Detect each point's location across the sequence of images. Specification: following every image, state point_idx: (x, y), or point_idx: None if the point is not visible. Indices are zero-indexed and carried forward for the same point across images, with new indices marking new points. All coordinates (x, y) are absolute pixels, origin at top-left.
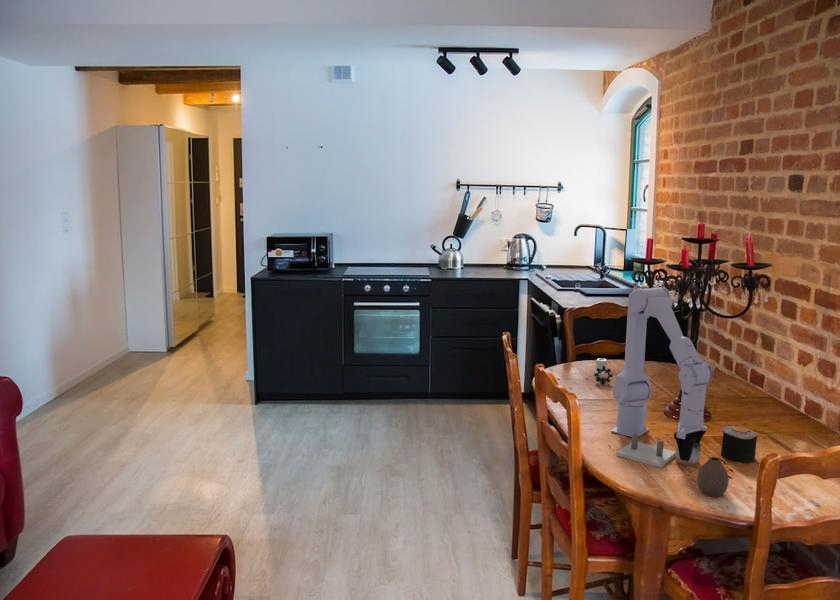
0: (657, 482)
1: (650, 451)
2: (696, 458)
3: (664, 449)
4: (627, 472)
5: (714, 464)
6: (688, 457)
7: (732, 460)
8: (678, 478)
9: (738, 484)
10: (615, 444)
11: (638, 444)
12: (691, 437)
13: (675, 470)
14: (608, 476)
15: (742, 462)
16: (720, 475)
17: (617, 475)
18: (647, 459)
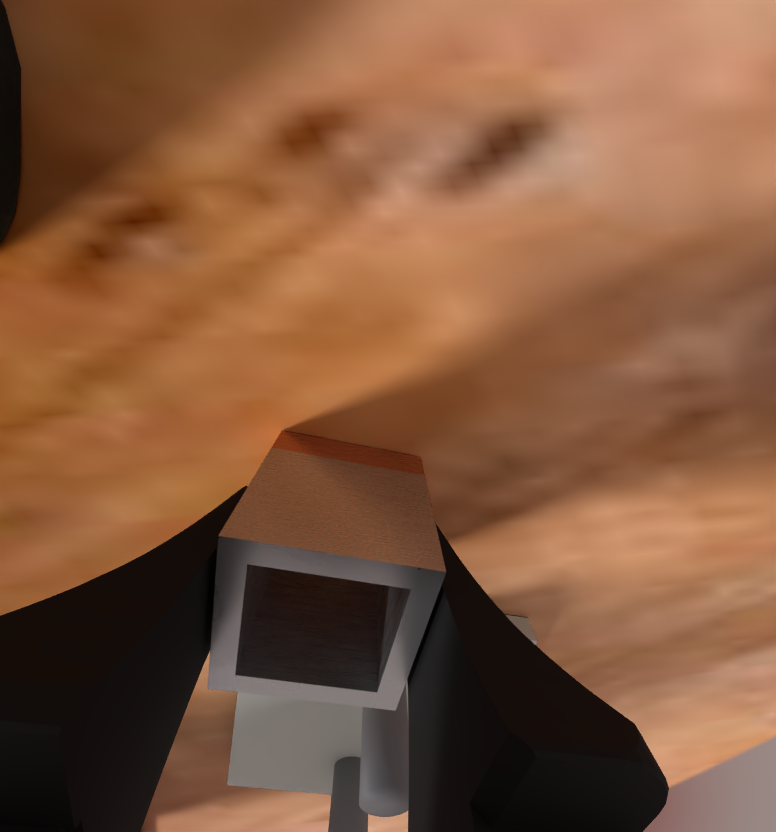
0: (763, 599)
1: (344, 708)
2: (357, 472)
3: None
4: (653, 718)
5: None
6: (447, 541)
7: (19, 129)
8: (672, 514)
9: (688, 12)
10: (295, 804)
11: (267, 762)
12: (559, 816)
13: (535, 545)
14: (725, 760)
15: None
16: None
17: (704, 740)
18: None
